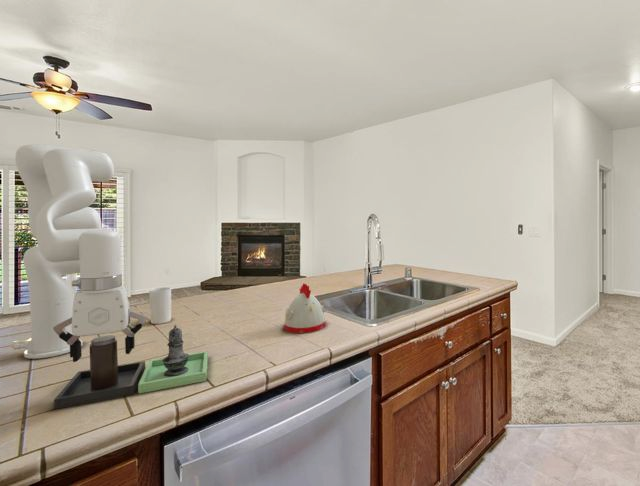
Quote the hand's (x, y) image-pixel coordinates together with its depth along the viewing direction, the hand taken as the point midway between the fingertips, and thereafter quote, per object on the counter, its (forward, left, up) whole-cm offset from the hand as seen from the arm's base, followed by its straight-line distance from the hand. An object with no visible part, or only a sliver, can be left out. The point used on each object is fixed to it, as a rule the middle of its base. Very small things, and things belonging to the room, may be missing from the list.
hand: (103, 355), depth 86 cm
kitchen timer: (+52, +23, -8) cm, 57 cm away
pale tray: (+15, 0, -7) cm, 16 cm away
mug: (+5, +54, -8) cm, 55 cm away
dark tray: (0, 0, -7) cm, 7 cm away
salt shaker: (+15, 0, -7) cm, 16 cm away
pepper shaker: (0, 0, -7) cm, 7 cm away
